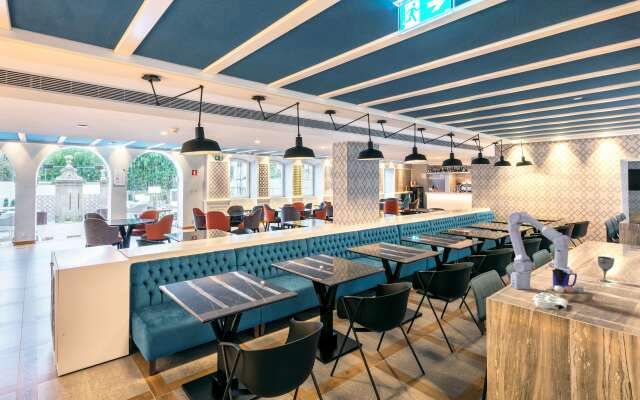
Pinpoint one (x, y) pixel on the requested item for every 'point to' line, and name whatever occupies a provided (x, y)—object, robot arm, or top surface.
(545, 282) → the top surface
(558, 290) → the pale grey rounded piece
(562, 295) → the wooden compartment tray
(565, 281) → the mug
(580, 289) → the pale blue rounded lump
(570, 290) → the pink egg
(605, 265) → the wine glass
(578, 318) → the top surface
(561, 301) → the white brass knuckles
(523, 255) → the robot arm
